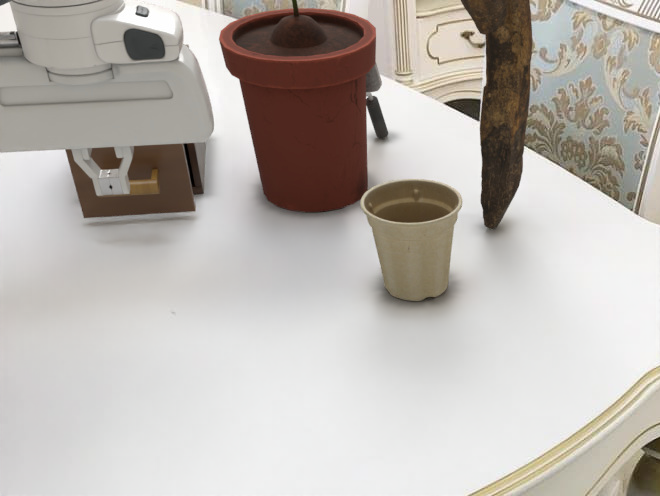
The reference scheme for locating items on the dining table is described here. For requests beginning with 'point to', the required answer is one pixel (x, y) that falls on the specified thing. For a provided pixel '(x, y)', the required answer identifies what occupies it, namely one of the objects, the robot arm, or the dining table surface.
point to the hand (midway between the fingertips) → (114, 192)
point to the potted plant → (307, 102)
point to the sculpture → (503, 99)
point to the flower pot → (413, 234)
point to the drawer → (139, 182)
